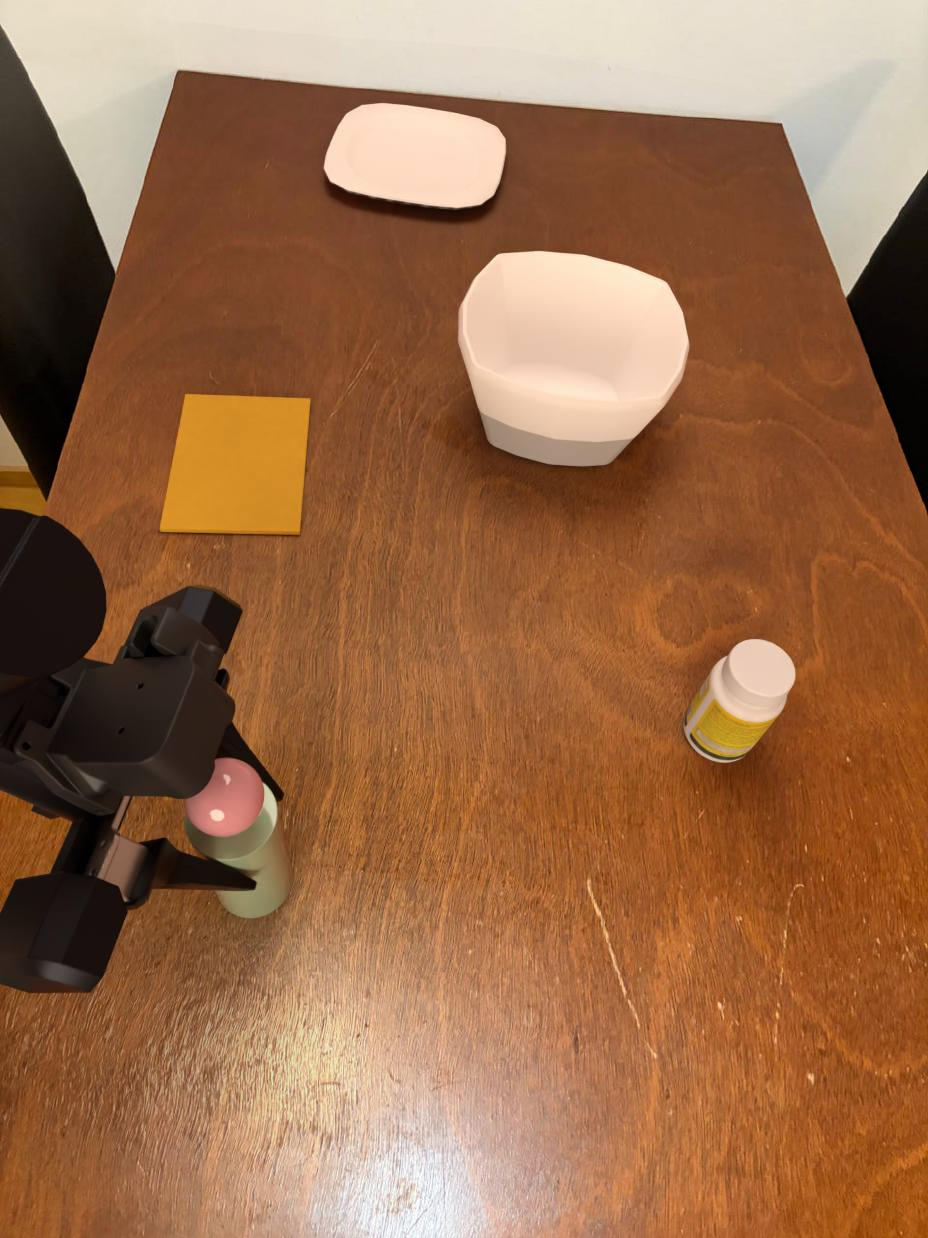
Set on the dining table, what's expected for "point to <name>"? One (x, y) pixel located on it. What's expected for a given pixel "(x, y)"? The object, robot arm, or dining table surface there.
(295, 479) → the cloth
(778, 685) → the supplement bottle
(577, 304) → the bowl
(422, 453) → the dining table surface
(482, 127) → the plate
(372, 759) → the dining table surface
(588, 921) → the dining table surface
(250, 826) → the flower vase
